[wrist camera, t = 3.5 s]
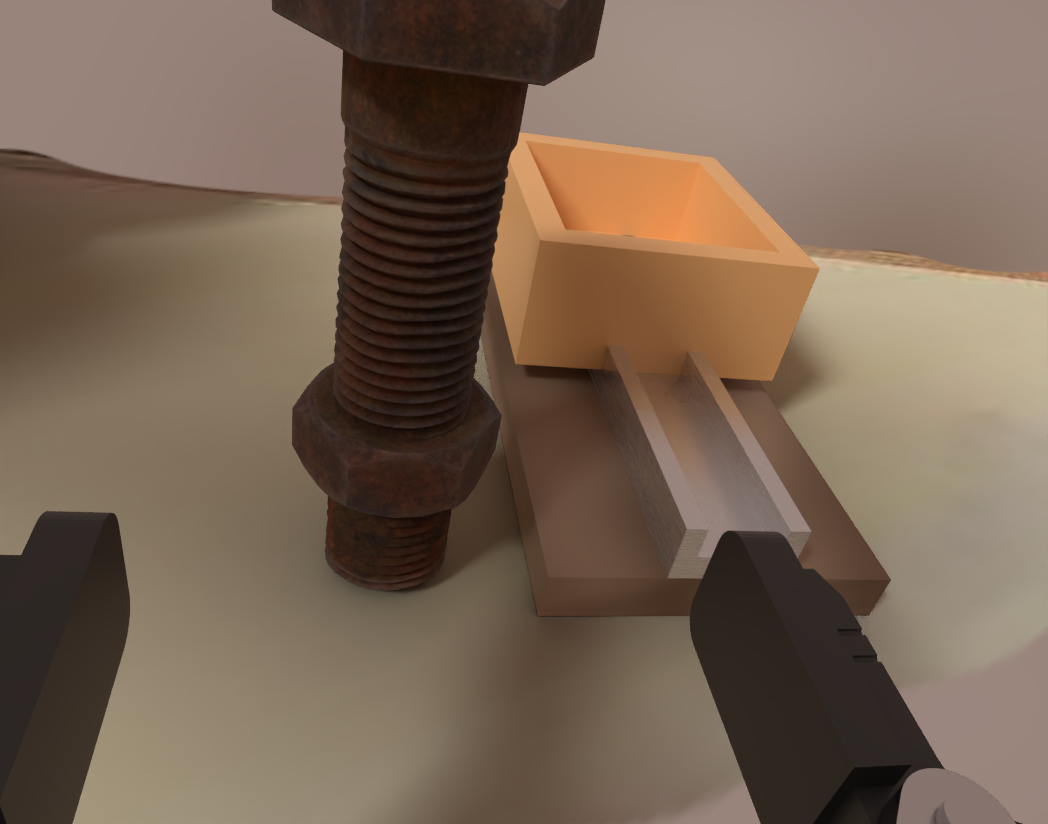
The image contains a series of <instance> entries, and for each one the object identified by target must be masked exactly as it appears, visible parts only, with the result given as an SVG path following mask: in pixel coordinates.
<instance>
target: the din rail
mask: <svg viewBox="0 0 1048 824" xmlns="http://www.w3.org/2000/svg"><path fill="white" fill-rule="evenodd" d="M621 235H622V234H621ZM622 236H627V235H622ZM628 236H629V237H634V236H631V235H628ZM588 370H589V373H590V375H591V378H592V381H593V383H594V386H595V388H596V391H597V394H598V396H599V399H600V402H601V404H602V407H603V410H604V412H605V415H606V417H607V420H608V423H609V425H610V428H611V431H612V433H613V436H614V439H615V441H616V444H617V446H618V449H619V452H620V454H621V457H622V460H623V462H624V465H625V468H626V470H627V473H628V475H629V478H630V481H631V483H632V486H633V489H634V491H635V494H636V497H637V499H638V502H639V504H640V507H641V510H642V512H643V515H644V518H645V520H646V523H647V526H648V528H649V531H650V533H651V536H652V539H653V541H654V544H655V547H656V549H657V552H658V555H659V557H660V560H661V562H662V565H663V568H664V570H665V573H666V576H667V578H703V575H704V573H705V571H706V569H707V566H708V564H709V562H710V559H711V557H712V555H713V553H714V550H715V548H716V546H717V543H718V541H719V539H720V537H721V536H722V535H723V533H725V532H726V531H770V532H779V533H781V534H782V535H784V537H785V538H786V539H787V540H788V542H789V544H790V546H791V547H792V549H793V551H794V553H795V555H796V556H797V558H798V557H799V555H800V553H801V551H802V549H803V547H804V546H805V544H806V542H807V540H808V538H809V536H810V534H811V530H810V528H809V527H808V525H807V523H806V522H805V520H804V518H803V517H802V515H801V513H800V512H799V510H798V508H797V507H796V505H795V503H794V502H793V500H792V498H791V497H790V495H789V493H788V492H787V490H786V488H785V487H784V485H783V483H782V482H781V480H780V478H779V477H778V475H777V473H776V472H775V470H774V468H773V467H772V465H771V463H770V462H769V460H768V458H767V457H766V455H765V453H764V452H763V450H762V448H761V447H760V445H759V443H758V442H757V440H756V438H755V437H754V435H753V433H752V432H751V430H750V428H749V427H748V425H747V423H746V422H745V420H744V418H743V417H742V415H741V413H740V412H739V410H738V408H737V407H736V405H735V403H734V402H733V400H732V398H731V397H730V395H729V393H728V392H727V390H726V388H725V387H724V385H723V383H722V382H721V380H720V378H719V377H718V375H717V373H716V372H715V370H714V368H713V367H712V365H711V363H710V362H709V360H708V358H707V357H706V355H705V353H704V352H696V351H687V354H686V357H685V360H684V363H683V366H682V369H681V372H680V375H673V374H658V373H643V372H636V370H635V368H634V366H633V364H632V362H631V359H630V357H629V355H628V353H627V351H626V349H625V346H615V345H607V349H606V352H605V356H604V360H603V363H602V367H601V370H598V369H588Z"/></svg>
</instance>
